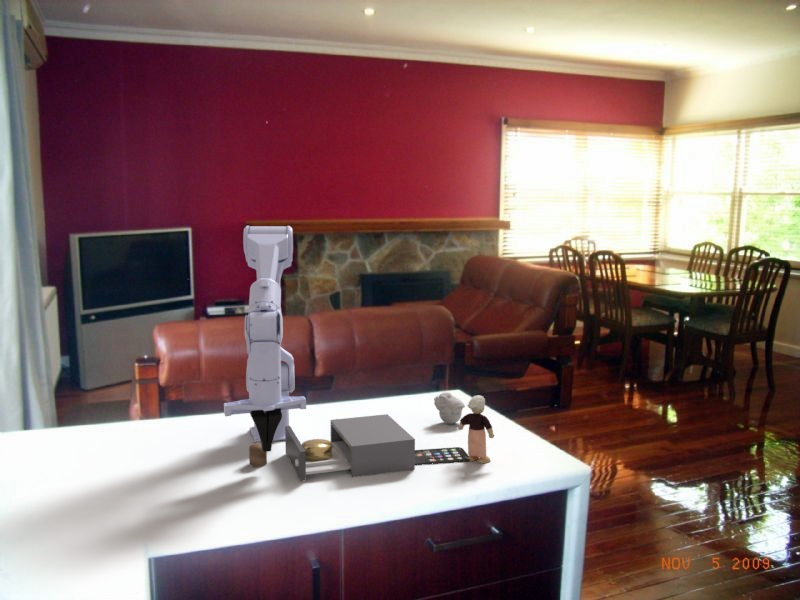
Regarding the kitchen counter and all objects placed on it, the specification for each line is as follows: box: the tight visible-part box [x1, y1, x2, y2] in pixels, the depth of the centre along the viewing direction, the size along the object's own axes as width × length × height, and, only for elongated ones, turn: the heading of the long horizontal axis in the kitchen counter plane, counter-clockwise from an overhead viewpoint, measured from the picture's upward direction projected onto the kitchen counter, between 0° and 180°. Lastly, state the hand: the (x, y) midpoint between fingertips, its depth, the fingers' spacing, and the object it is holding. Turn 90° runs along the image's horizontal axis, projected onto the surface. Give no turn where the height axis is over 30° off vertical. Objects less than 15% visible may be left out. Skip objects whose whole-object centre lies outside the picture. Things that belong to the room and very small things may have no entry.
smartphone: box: [415, 446, 471, 466], centre depth 134 cm, size 7×1×15 cm
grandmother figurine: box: [457, 394, 495, 464], centre depth 132 cm, size 8×4×13 cm, turn 65°
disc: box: [301, 438, 332, 462], centre depth 129 cm, size 6×6×2 cm
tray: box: [284, 425, 351, 482], centre depth 130 cm, size 15×12×5 cm
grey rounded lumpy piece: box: [433, 391, 466, 425], centre depth 154 cm, size 6×7×7 cm
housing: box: [330, 413, 416, 478], centre depth 133 cm, size 16×12×6 cm
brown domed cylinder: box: [248, 442, 268, 468], centre depth 130 cm, size 3×3×4 cm
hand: (266, 449), depth 126 cm, fingers closed
